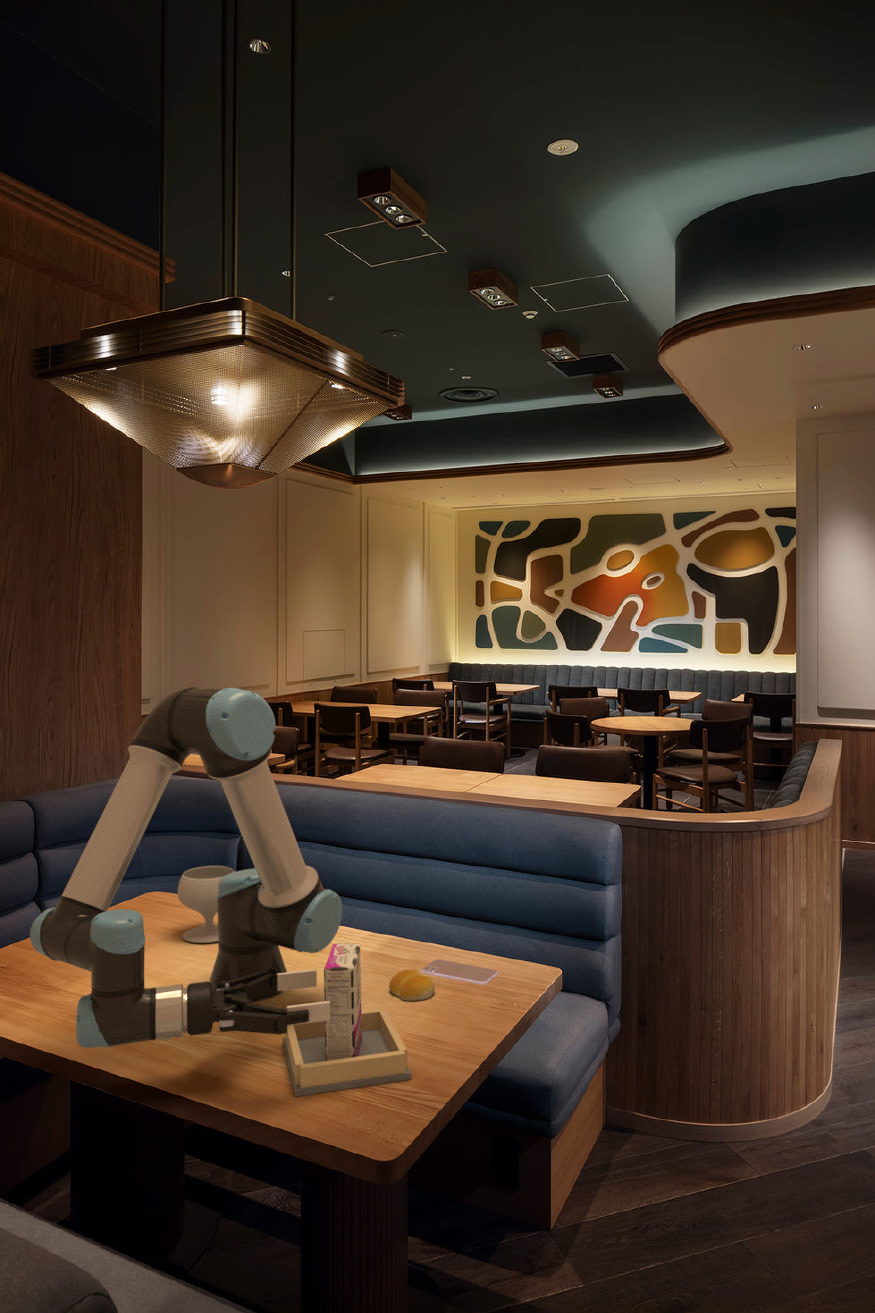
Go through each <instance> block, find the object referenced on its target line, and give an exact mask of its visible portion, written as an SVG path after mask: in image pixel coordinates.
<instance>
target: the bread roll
mask: <svg viewBox="0 0 875 1313" xmlns="http://www.w3.org/2000/svg"><path fill="white" fill-rule="evenodd" d="M388 986H389V990H390V992H391V993H392V995H394V996H396V997H398V998H400V999H401V1000H403V1001H406V1002H407V1001H410V1002H413V1001H414V1002H415V1001H423V1000H427V999H430V998H431V997H432V996H433V995H434V994H435V993H434V992H435V986H436V985H435V982H434V980H433V979H432V978H431V977H430V976H427V975H423V973H420V972H419V971H418V970H414V969H403V970H401V971H399V972H398V973H396V974H395V975H394V976H393V977H392V978H391V979H390V981H389V983H388Z"/></svg>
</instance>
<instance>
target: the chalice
mask: <svg viewBox="0 0 875 1313" xmlns="http://www.w3.org/2000/svg"><path fill="white" fill-rule="evenodd" d="M233 872H236V871H235V870H234V868H232V867H229V866H225V865H224V866H223V865H207V866H198V867H194V868H191V869H188V870H185V871H184V872H182V875H181V876H180V879H179V882H178V886H177V898H178V901H179V902H180V903H181V904H182V905H183V906H185V907H186V908H188V909H190V910H192V911H195V912H196V913H199V914H200V915H201V916H202V917H203V918H204V925H200V926H197V927H194V928H190V929H189V930H187V931H185V932H184V933H183V934H182V935H181V938H182V939H183V940H184V941H186V942H189V943H194V944H195V943H197V944H208V943H217V942H219V940H218V924H214V918H215V916H216V914H218V899H217V896H218V888H219V882H220V880H221V878H223V877H224V876H225V875H227V874H230V873H233Z"/></svg>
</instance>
